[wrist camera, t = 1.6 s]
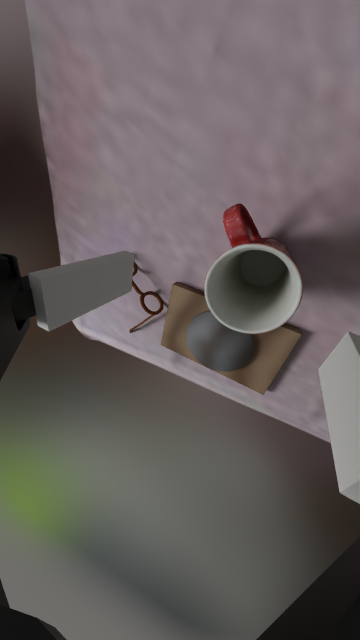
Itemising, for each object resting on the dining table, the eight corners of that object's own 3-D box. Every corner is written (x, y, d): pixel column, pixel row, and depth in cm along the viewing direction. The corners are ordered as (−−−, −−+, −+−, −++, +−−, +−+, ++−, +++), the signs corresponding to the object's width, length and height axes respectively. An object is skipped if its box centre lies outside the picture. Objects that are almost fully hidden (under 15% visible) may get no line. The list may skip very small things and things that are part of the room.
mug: (303, 286, 30) (310, 329, 19) (240, 299, 35) (217, 338, 24) (287, 191, 26) (284, 176, 16) (219, 219, 31) (180, 223, 20)
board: (301, 329, 33) (302, 337, 31) (264, 389, 40) (262, 398, 38) (176, 281, 39) (169, 285, 37) (164, 341, 46) (158, 347, 44)
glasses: (168, 306, 42) (155, 316, 38) (132, 332, 50) (117, 342, 46) (128, 251, 41) (110, 255, 37) (97, 286, 49) (79, 293, 45)
